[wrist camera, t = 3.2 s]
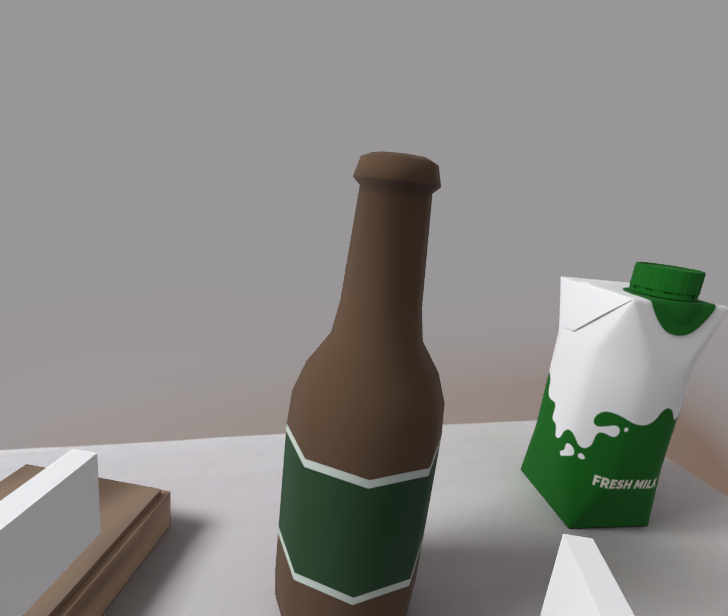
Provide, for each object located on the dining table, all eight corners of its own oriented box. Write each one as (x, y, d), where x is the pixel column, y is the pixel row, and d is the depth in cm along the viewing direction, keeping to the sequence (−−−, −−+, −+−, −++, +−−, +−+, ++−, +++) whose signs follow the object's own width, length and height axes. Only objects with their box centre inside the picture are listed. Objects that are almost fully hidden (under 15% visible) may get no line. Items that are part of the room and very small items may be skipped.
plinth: (170, 525, 28) (170, 486, 27) (40, 695, 18) (35, 642, 17) (29, 498, 29) (26, 459, 28) (-166, 647, 19) (-179, 594, 18)
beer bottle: (243, 598, 24) (269, 139, 18) (342, 529, 29) (387, 165, 23) (341, 719, 19) (424, 139, 13) (438, 608, 24) (525, 172, 18)
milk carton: (564, 538, 31) (641, 267, 26) (505, 462, 39) (554, 247, 34) (667, 535, 32) (757, 279, 27) (589, 463, 41) (647, 257, 36)
